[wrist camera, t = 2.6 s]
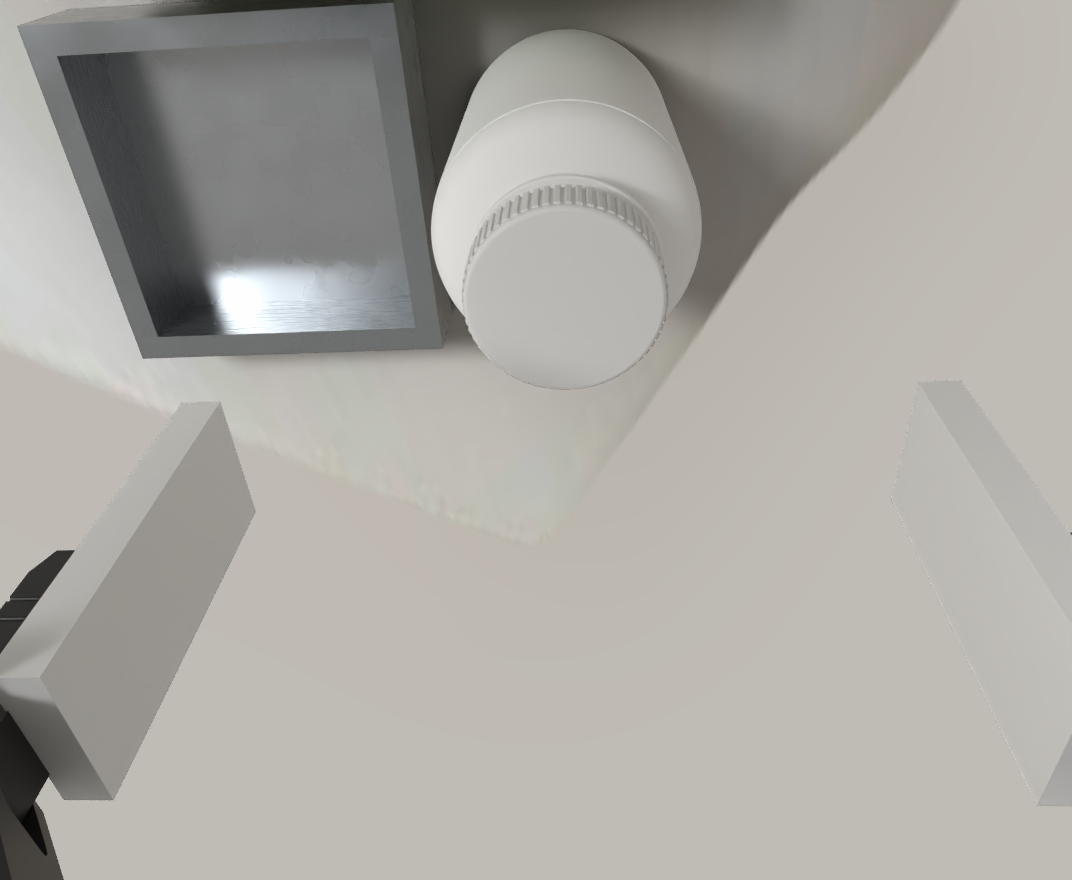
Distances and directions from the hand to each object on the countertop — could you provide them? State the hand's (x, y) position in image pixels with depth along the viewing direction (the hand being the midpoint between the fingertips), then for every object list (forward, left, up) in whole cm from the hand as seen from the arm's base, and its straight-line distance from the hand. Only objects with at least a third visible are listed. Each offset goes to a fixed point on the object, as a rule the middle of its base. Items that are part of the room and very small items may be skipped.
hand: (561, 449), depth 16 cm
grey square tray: (-12, -1, -21) cm, 24 cm away
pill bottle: (0, 0, -21) cm, 21 cm away
